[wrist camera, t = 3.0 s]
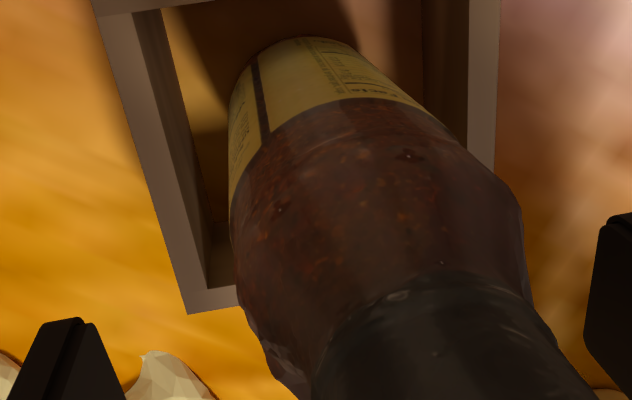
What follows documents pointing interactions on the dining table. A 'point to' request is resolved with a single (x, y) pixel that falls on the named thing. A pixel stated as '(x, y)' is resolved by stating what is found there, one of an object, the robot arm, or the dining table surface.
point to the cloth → (152, 385)
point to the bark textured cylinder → (610, 394)
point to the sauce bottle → (376, 242)
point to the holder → (178, 147)
